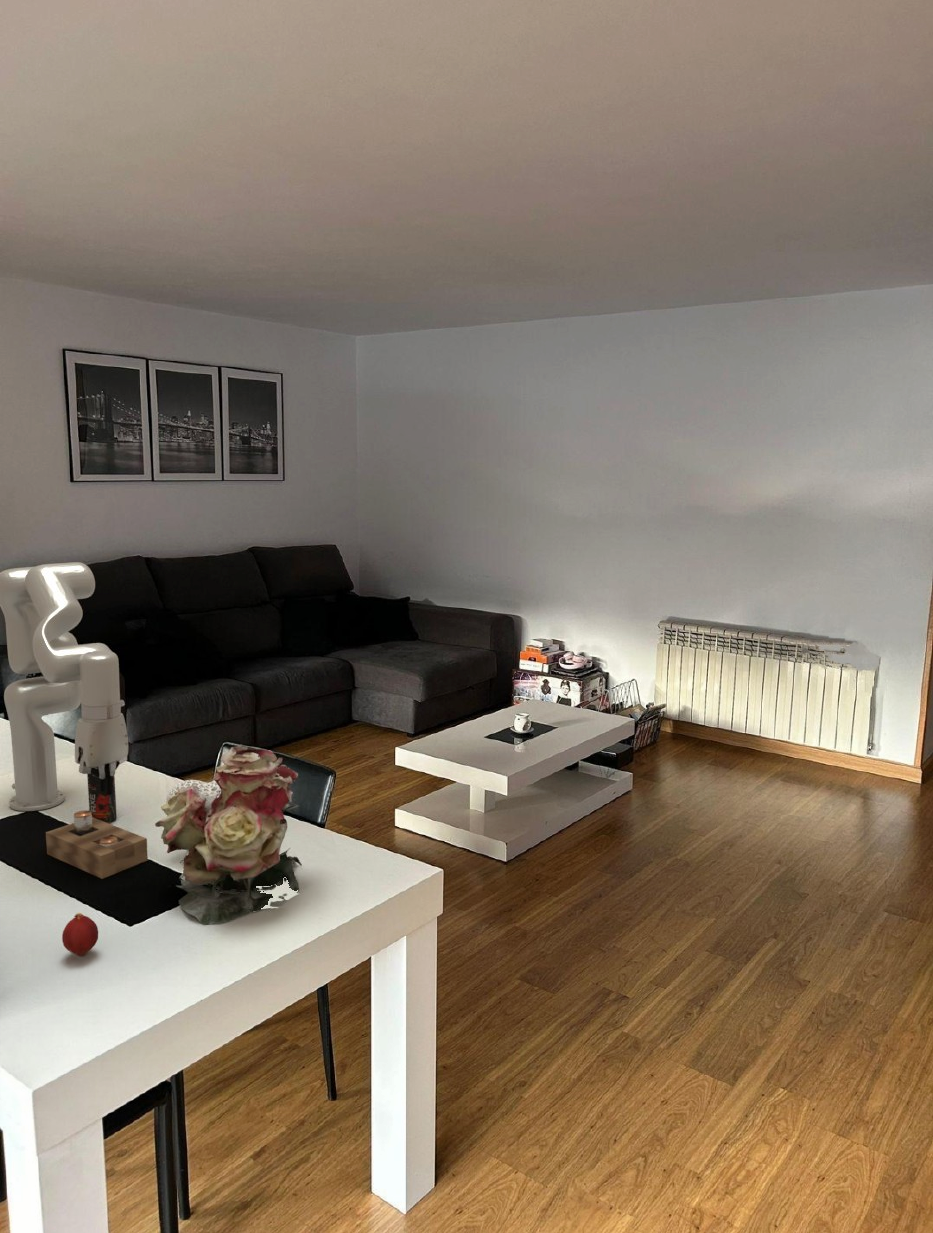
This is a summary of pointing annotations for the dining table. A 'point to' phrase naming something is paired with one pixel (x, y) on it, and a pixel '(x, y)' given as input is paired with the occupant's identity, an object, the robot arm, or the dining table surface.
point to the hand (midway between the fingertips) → (104, 793)
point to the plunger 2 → (108, 841)
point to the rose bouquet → (232, 836)
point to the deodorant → (101, 802)
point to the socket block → (97, 848)
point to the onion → (80, 935)
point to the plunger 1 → (83, 822)
